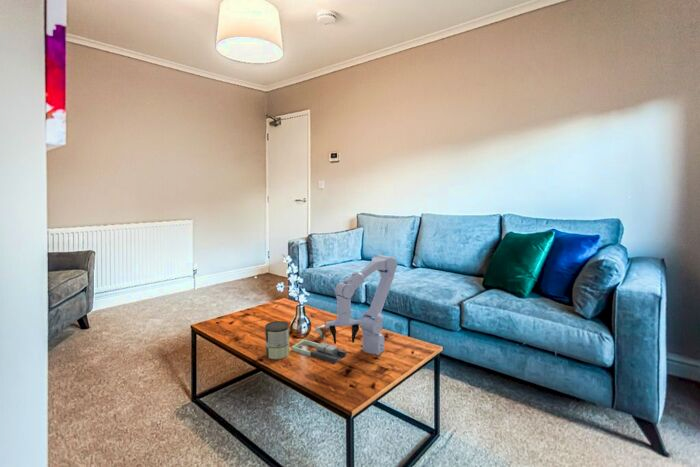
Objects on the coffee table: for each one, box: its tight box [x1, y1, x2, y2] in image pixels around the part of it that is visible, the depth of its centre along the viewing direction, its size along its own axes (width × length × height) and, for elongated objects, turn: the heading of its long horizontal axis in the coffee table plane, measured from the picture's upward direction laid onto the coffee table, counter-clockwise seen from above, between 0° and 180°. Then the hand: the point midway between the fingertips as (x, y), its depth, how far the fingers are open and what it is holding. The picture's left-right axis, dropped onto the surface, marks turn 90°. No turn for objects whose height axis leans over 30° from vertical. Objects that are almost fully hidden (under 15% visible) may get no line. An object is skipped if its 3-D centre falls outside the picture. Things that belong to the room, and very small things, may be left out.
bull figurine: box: [313, 321, 332, 341], centre depth 181 cm, size 4×13×8 cm, turn 152°
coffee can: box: [264, 320, 290, 360], centre depth 162 cm, size 10×10×14 cm
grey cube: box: [325, 344, 339, 357], centre depth 160 cm, size 4×4×4 cm
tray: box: [291, 339, 320, 357], centre depth 168 cm, size 11×9×2 cm
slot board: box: [310, 348, 347, 364], centre depth 161 cm, size 13×9×3 cm
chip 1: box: [316, 342, 330, 354], centre depth 163 cm, size 4×4×4 cm
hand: (343, 342), depth 156 cm, fingers open, 7 cm apart
